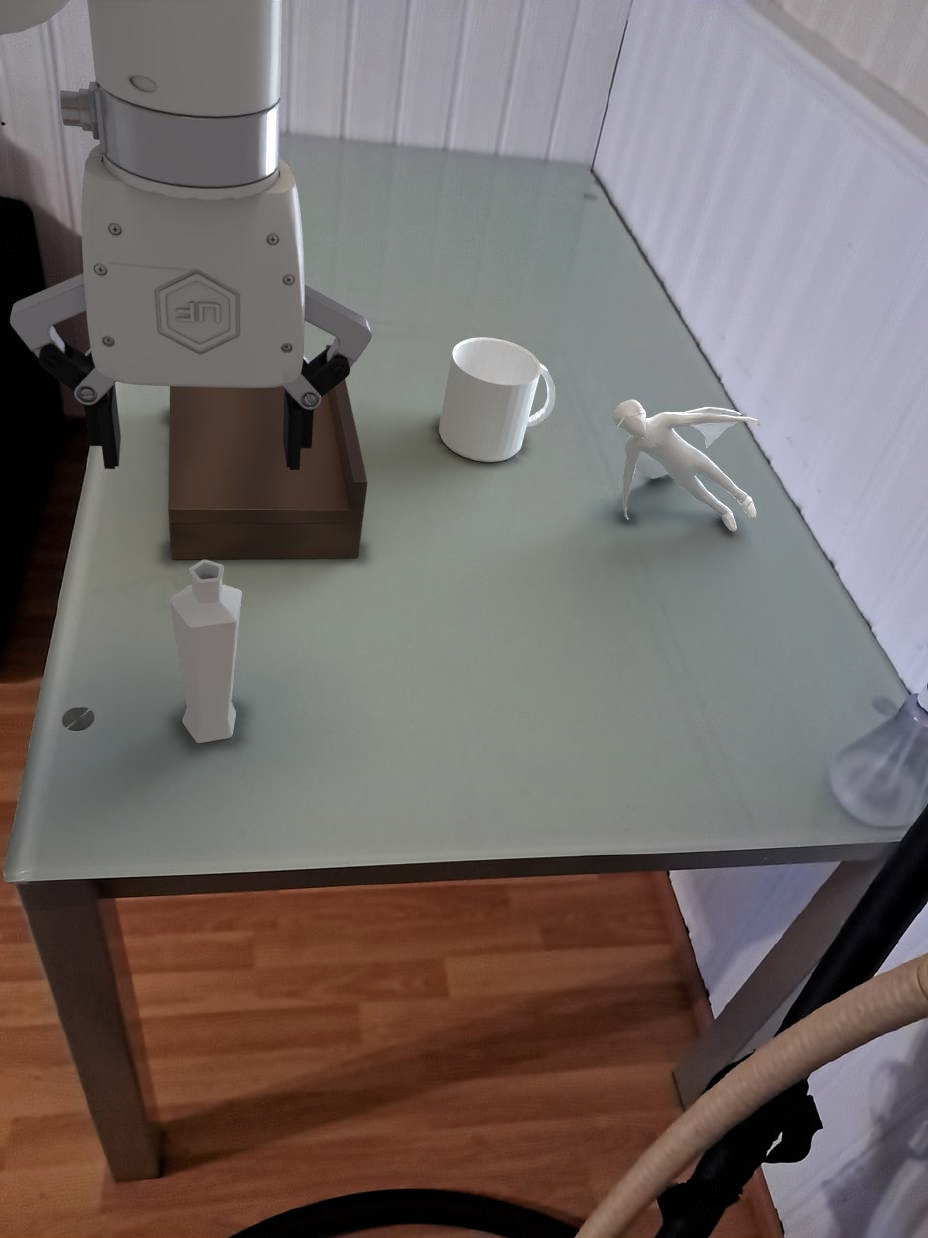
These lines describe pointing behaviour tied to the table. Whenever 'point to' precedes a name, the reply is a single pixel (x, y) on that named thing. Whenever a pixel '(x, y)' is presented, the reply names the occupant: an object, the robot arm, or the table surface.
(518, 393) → the mug
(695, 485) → the figurine
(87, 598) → the table surface
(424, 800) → the table surface
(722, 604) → the table surface
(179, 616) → the perfume bottle
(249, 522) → the wooden display stand
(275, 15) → the robot arm
